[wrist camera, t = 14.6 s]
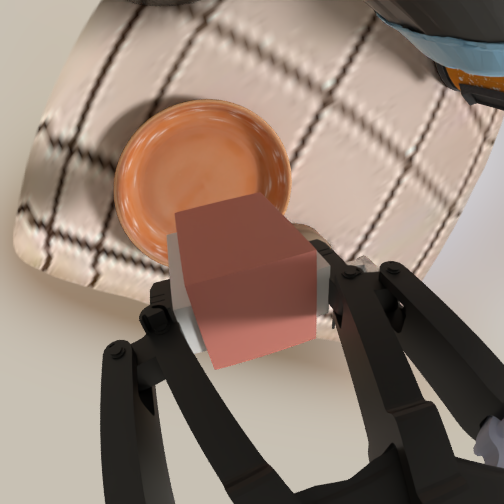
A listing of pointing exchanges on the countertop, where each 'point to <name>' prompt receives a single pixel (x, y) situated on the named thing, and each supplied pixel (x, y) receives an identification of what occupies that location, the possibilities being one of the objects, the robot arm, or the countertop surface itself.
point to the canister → (474, 86)
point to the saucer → (195, 168)
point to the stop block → (247, 278)
